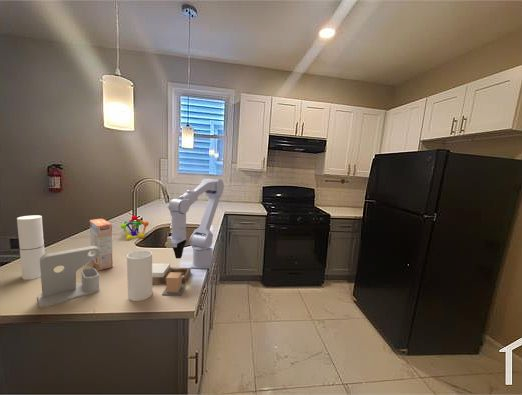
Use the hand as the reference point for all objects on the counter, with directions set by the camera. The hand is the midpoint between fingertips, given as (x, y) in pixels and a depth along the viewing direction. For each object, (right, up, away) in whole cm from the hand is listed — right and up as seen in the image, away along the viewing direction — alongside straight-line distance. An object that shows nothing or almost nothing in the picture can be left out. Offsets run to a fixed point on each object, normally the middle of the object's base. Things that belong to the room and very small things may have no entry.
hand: (178, 257), depth 100 cm
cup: (-10, -11, -13) cm, 19 cm away
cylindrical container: (-59, -7, -3) cm, 60 cm away
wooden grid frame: (-6, -9, +1) cm, 11 cm away
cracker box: (-40, -6, +10) cm, 42 cm away
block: (+1, -10, -9) cm, 13 cm away
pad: (+1, -11, -9) cm, 14 cm away
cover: (-10, -6, 0) cm, 12 cm away
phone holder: (-35, -10, -14) cm, 39 cm away
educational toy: (-47, 0, +51) cm, 69 cm away
